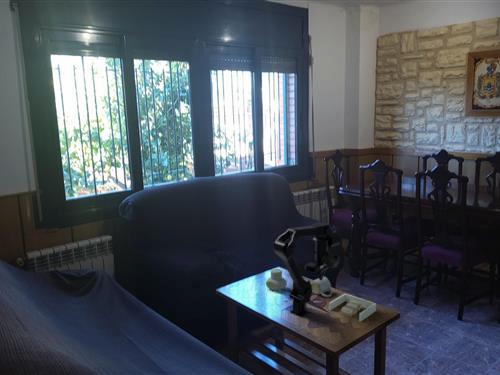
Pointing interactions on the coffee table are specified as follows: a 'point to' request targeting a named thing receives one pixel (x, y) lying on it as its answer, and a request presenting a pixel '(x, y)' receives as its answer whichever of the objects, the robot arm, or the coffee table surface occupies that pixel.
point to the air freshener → (276, 280)
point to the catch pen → (364, 303)
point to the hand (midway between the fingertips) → (320, 280)
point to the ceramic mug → (321, 286)
